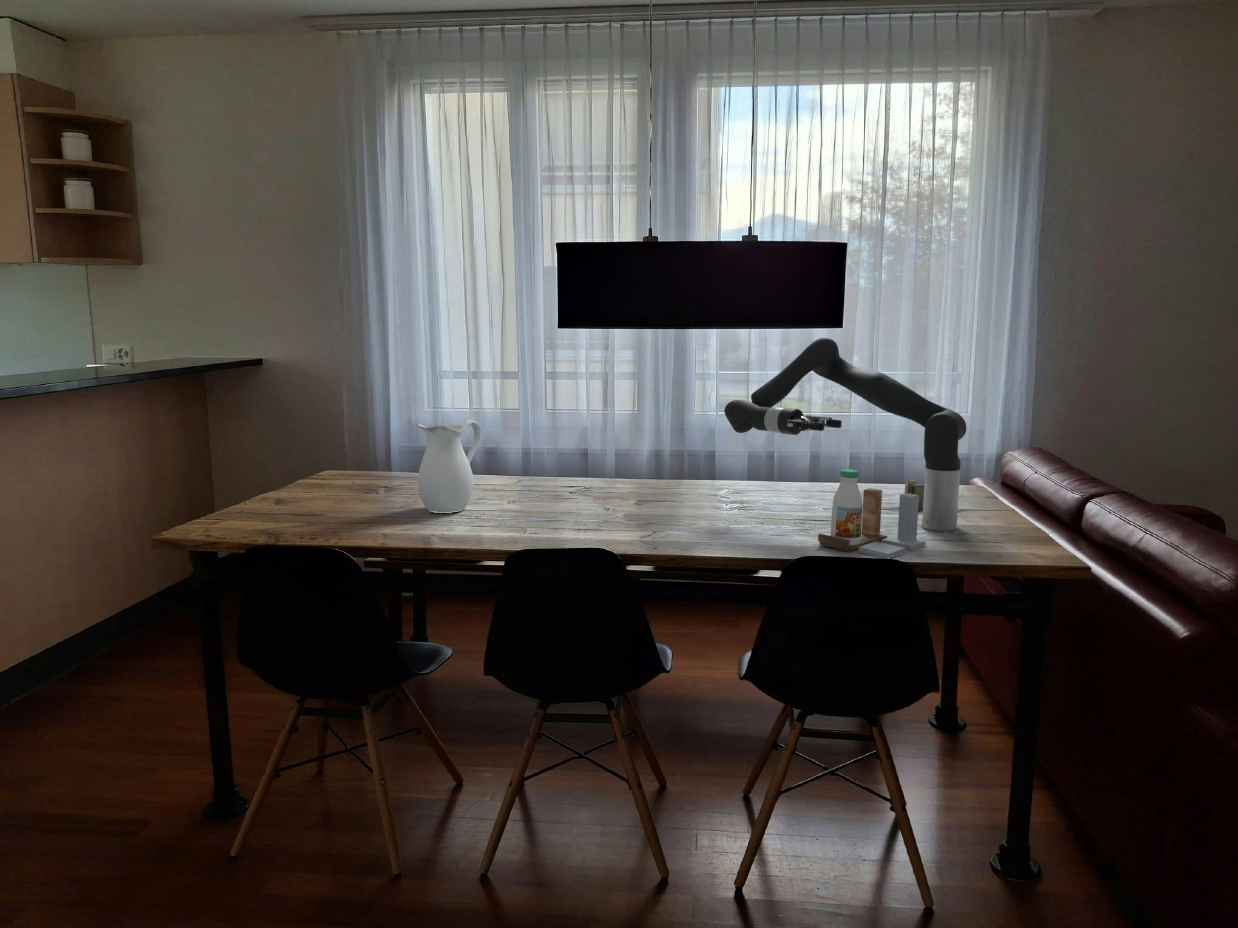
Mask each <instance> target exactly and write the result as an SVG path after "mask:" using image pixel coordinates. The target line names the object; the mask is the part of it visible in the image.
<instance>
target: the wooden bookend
mask: <svg viewBox="0 0 1238 928" xmlns="http://www.w3.org/2000/svg"><path fill="white" fill-rule="evenodd" d="M862 497H863V498H862V503H863V505H862V526H861V541H860V543H859V544H856V545H849V542H850V540H847V539H842V538H838V537H834V536H830V535H828V534H824V533H818V534H817V535H818V536H817V542H818V543H819V545H820V546H824V547H828V548H833V549H837V550H841V551H846V552H851V551H854V550H855V551H856V550H857V549H858V550H859V547H860V546H863V545H866V544H869V543H873V542H882V539H885V538H888V535H886V534H885V535H884V534H880V533H881V521H882V519H881V518H882V503H883V502H882V501H883V499H882V498H883V490H882V489H878V488H872V487H870V488H866V489H864V490H863V496H862Z"/></svg>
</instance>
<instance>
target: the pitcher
mask: <svg viewBox="0 0 1238 928" xmlns="http://www.w3.org/2000/svg"><path fill="white" fill-rule="evenodd" d="M417 425H418V427H419V428H420V429H421V430H422V431H423V432H424V434H425V436H426V449H425V451H424V454H423V456H422V459H421V462H420V466H419V469H418V475H417V488H418V492H419V493H418V494H419V498H420V500H421V502H422V504H423V506H424V507H425V508H426V510H427V511H428V510H430V511H437V512H451V511H459V510H463V509H464V510H465V509H466V508H467V506H468V505H469V503H470V501H471V498H472V496H473V491H474V475H473V470H472V468H471V462H472V459H473V457H474V455H475V453H476V451H477V448H478V446H479V445H480V441H481V432H482V429H481V426H480V424H479V423H478V422H477V421H476V420H473V419H467V420H464V421H463V422H461V423H460V424H454V423H450V424H445V425H434V426H425V425H422V424H421V423H418V424H417ZM468 426H471V427H472V431H473V436H472V441H471V445H470V448H469V451H468V452H467V455H466V453H465V451H464V448H463V446H462V441H461V439H462V436H463V433H464V431H465V430H466V429H467V428H468ZM464 510H463V511H464Z"/></svg>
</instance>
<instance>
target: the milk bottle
mask: <svg viewBox="0 0 1238 928" xmlns="http://www.w3.org/2000/svg"><path fill="white" fill-rule="evenodd" d="M859 473H860V472H859V470H856V469H851V468H846V469H844V468H843V469H841V470H840V473H839V475H840V476H839V478H840V483H839V485H838V487H837V489H836V491H835V493H834V496H833V499H832V508H831V521H830V535H829V536H834V537H838V538H842V539H847V540H850V542H849V545H856V544H859V543H860V541H861V530H862V514H863V498H862V497H863V496H862V495H861V491H860V489H859V486H858V485H859V484H858V480H859V475H860V474H859Z"/></svg>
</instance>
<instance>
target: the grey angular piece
mask: <svg viewBox="0 0 1238 928" xmlns="http://www.w3.org/2000/svg"><path fill="white" fill-rule="evenodd" d="M898 503H899V505H898V506H899V507H898V522H897V534H895V535H892V536H889V537H888V536H887V538H885V539H882V541H880V542H873V543H869V544H866V545H863V546H860V547H859V548H858V552H859V553H862V554H866V555H871V556H875V557H879V558H883V559H887V558H889V559H891V558H894V557H893V556H895V557H897V556H896V555H898V556H900V555H902V554H901V553H903V554H906V551H910V550H912V551H914V549H915V550H917V549H920V548H923V547H925V546H926V540H922V539H918V538H917V535H918V519H919V517H918V515H919V508H918V505H919V495H916V494H910V493H905V492H904V493H902V494H899V502H898ZM919 547H920V548H919ZM916 548H917V549H916ZM906 549H907V550H906ZM899 554H900V555H899Z"/></svg>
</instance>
